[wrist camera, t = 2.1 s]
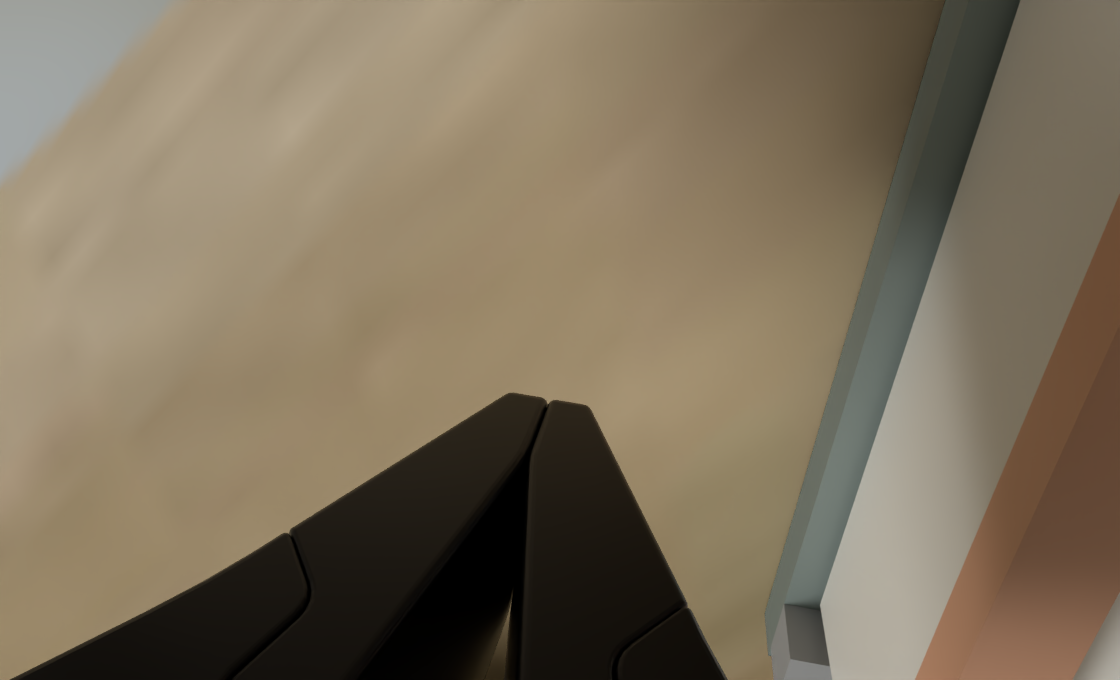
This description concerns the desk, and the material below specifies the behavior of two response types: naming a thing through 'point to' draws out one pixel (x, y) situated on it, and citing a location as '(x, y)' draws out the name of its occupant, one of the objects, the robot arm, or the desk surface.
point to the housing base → (884, 320)
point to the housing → (1005, 397)
